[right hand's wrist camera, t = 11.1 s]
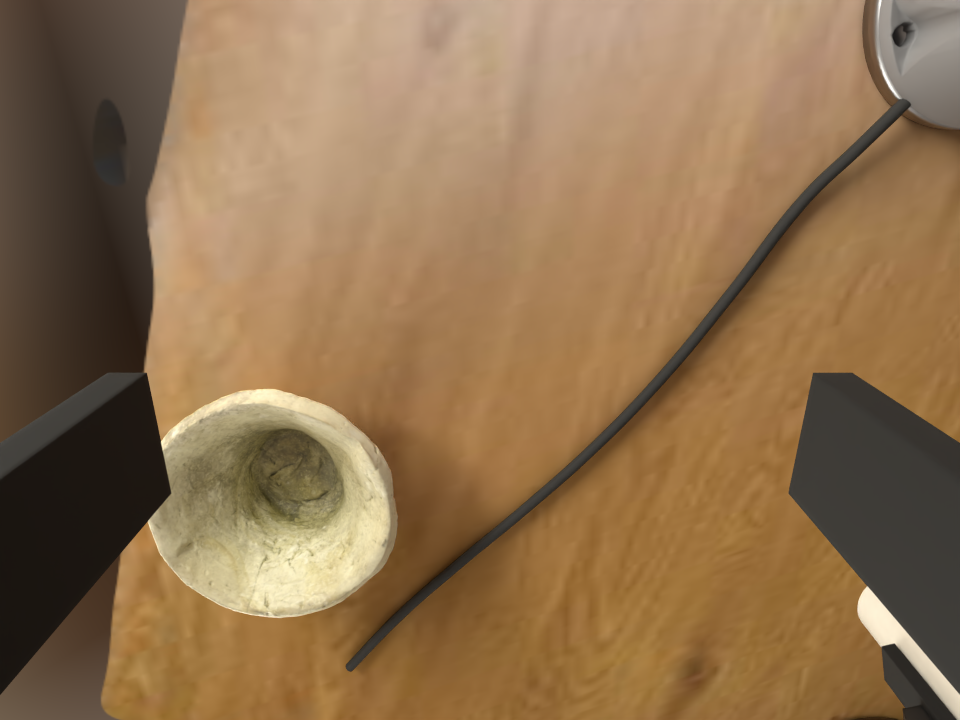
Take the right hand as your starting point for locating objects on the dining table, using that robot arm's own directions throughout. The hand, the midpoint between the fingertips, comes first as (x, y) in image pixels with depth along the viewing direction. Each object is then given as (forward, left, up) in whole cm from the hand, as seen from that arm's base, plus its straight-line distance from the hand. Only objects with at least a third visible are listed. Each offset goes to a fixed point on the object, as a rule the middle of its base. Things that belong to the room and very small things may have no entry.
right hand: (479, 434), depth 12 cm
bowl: (-24, +5, -34) cm, 42 cm away
